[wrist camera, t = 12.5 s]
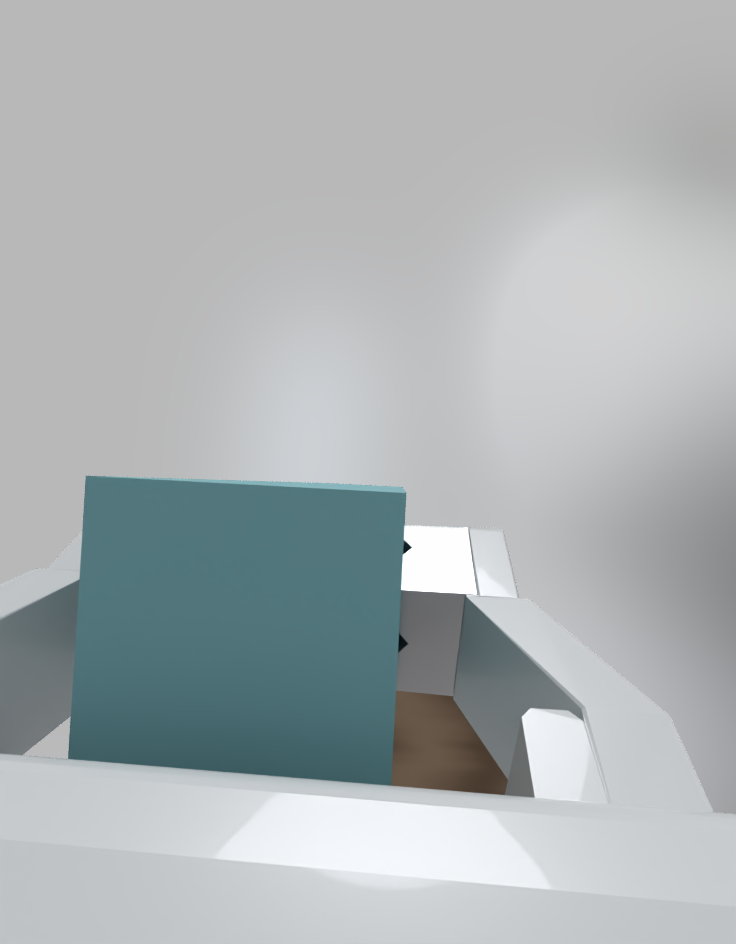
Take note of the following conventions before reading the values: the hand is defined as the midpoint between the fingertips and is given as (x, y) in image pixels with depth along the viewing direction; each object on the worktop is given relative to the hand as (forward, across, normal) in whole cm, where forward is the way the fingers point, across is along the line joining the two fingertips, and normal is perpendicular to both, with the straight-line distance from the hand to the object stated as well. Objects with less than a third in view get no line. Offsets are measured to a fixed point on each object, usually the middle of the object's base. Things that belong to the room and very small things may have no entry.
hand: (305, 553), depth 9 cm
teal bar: (+5, 0, -5) cm, 7 cm away
